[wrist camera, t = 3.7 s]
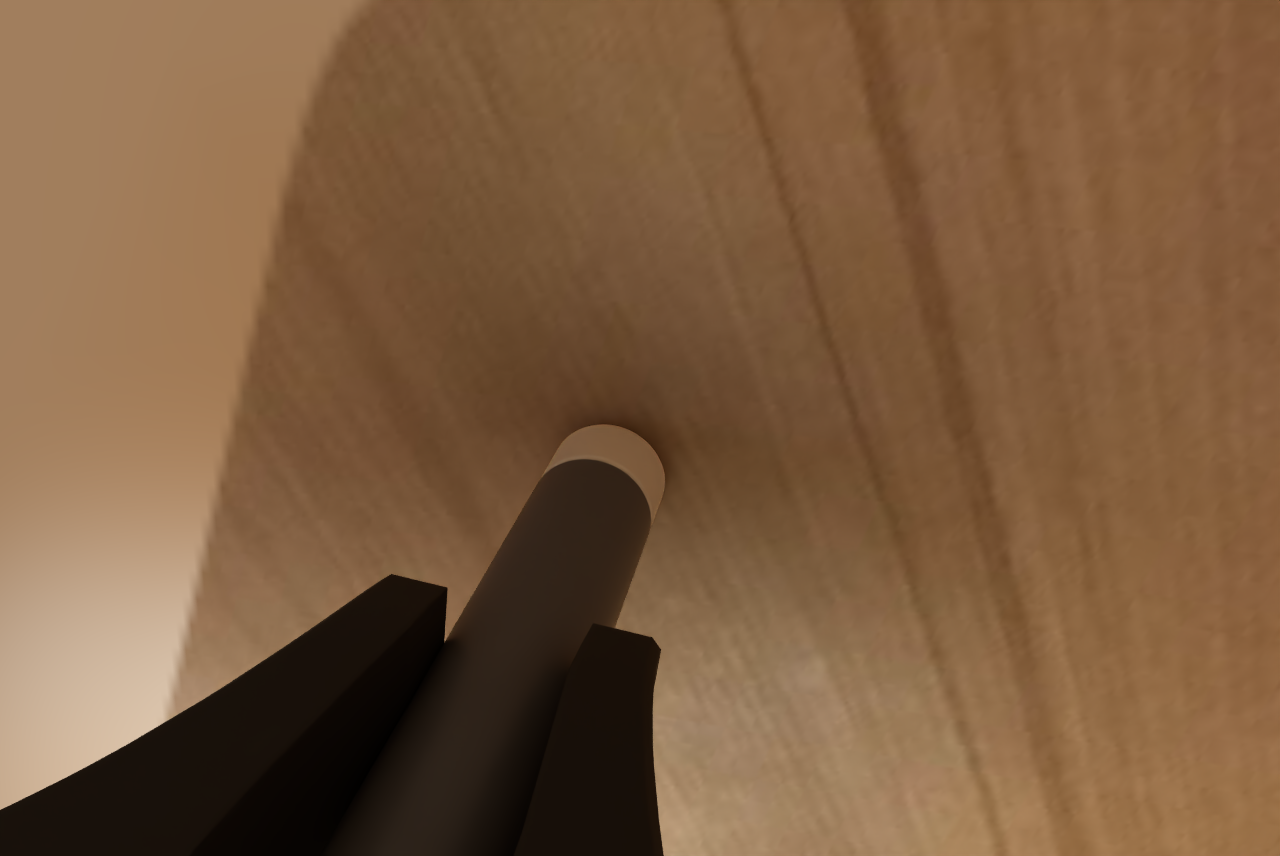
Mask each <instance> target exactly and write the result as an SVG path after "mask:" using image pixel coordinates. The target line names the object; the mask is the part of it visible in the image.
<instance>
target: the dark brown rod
mask: <svg viewBox="0 0 1280 856" xmlns="http://www.w3.org/2000/svg"><path fill="white" fill-rule="evenodd" d="M664 489H665V474H664V469H663V466H662V463H661V461H660V459H659V457H658V455H657V454H656V452H655V451H654V449H653V448H652V447H651V446H650V445H649V443H647V442H646V441H645V440H644V439H643V438H642V437H640V436H639V435H637V434H636V433H634V432H632V431H630V430H628V429H625V428H622V427H619V426H614V425H606V424H600V425H592V426H587V427H584V428H581V429H579V430H577V431H575V432H573V433H572V434H570V435H569V436H568V437H567V438H566V439H565V440H564V441H563V442H562V443H561V445H560V446H559V448H558V449H557V451H556V453H555V455H554V456H553V458H552V460H551V461H550V463H549V465H548V467H547V468H546V470H545V472H544V473H543V475H542V477H541V479H540V480H539V482H538V484H537V485H536V487H535V489H534V490H533V492H532V494H531V496H530V497H529V499H528V501H527V502H526V504H525V506H524V508H523V509H522V511H521V513H520V514H519V516H518V518H517V520H516V521H515V523H514V525H513V526H512V528H511V530H510V531H509V533H508V535H507V537H506V538H505V540H504V542H503V543H502V545H501V547H500V549H499V550H498V552H497V554H496V555H495V557H494V559H493V561H492V562H491V564H490V566H489V567H488V569H487V571H486V573H485V574H484V576H483V578H482V579H481V581H480V583H479V585H478V586H477V588H476V590H475V591H474V593H473V595H472V596H471V598H470V600H469V602H468V603H467V605H466V607H465V608H464V610H463V612H462V614H461V615H460V617H459V619H458V620H457V622H456V624H455V626H454V627H453V629H452V631H451V632H450V634H449V636H448V638H447V639H446V641H445V643H444V644H443V646H442V648H441V650H440V651H439V653H438V655H437V656H436V658H435V660H434V661H433V663H432V665H431V667H430V668H429V670H428V672H427V673H426V675H425V677H424V679H423V680H422V682H421V684H420V685H419V687H418V689H417V691H416V692H415V694H414V696H413V697H412V699H411V701H410V703H409V704H408V706H407V708H406V709H405V711H404V713H403V715H402V716H401V718H400V720H399V721H398V723H397V725H396V726H395V728H394V730H393V732H392V733H391V735H390V737H389V738H388V740H387V742H386V744H385V745H384V747H383V749H382V750H381V752H380V754H379V756H378V757H377V759H376V761H375V762H374V764H373V766H372V768H371V769H370V771H369V773H368V774H367V776H366V778H365V779H364V781H363V783H362V785H361V786H360V788H359V790H358V791H357V793H356V795H355V797H354V798H353V800H352V802H351V803H350V805H349V807H348V809H347V810H346V812H345V814H344V815H343V817H342V819H341V821H340V822H339V824H338V826H337V827H336V829H335V831H334V833H333V834H332V836H331V838H330V839H329V841H328V843H327V844H326V846H325V848H324V850H323V851H322V853H321V855H320V856H514V853H515V850H516V847H517V844H518V842H519V839H520V836H521V833H522V830H523V827H524V823H525V820H526V816H527V813H528V809H529V806H530V802H531V799H532V795H533V792H534V788H535V785H536V781H537V778H538V774H539V771H540V767H541V764H542V760H543V757H544V753H545V750H546V746H547V743H548V739H549V736H550V732H551V729H552V725H553V722H554V719H555V715H556V712H557V708H558V705H559V701H560V698H561V694H562V691H563V687H564V684H565V681H566V677H567V674H568V670H569V668H570V666H571V664H572V662H573V660H574V658H575V656H576V654H577V652H578V650H579V648H580V646H581V644H582V642H583V640H584V638H585V637H586V635H587V633H588V631H589V629H590V628H591V626H592V624H593V623H595V624H599V625H603V626H607V627H611V628H615V625H616V622H617V620H618V617H619V614H620V612H621V609H622V606H623V603H624V601H625V598H626V595H627V592H628V590H629V587H630V584H631V581H632V579H633V576H634V573H635V570H636V568H637V565H638V562H639V559H640V557H641V554H642V551H643V548H644V546H645V543H646V540H647V538H648V535H649V531H650V529H651V527H652V524H653V521H654V518H655V516H656V513H657V510H658V507H659V505H660V502H661V499H662V496H663V493H664Z"/></svg>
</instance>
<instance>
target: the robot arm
mask: <svg viewBox="0 0 1280 856" xmlns="http://www.w3.org/2000/svg"><path fill="white" fill-rule="evenodd" d="M446 604H447V587H443V586H439V585H434V584H430V583H426V582H422V581H418V580H414V579H410V578H406V577H402V576H397V575H393V574H391V575H389V576H387V577H386V578H384V579H382V580H381V581H379V582H378V583H376V584H375V585H373V586H372V587H370V588H369V589H367V590H366V591H364V592H363V593H362V594H360V595H359V596H357V597H356V598H354V599H353V600H352V601H350V602H349V603H347V604H346V605H344V606H343V607H341V608H340V609H339V610H337V611H336V612H334V613H333V614H331V615H330V616H329V617H327V618H326V619H324V620H323V621H321V622H320V623H319V624H317V625H316V626H314V627H313V628H311V629H310V630H308V631H307V632H305V633H304V634H303V635H301V636H300V637H298V638H297V639H295V640H294V641H292V642H291V643H289V644H288V645H286V646H285V647H284V648H282V649H281V650H279V651H277V652H276V653H274V654H273V655H271V656H270V657H268V658H267V659H265V660H264V661H262V662H261V663H259V664H258V665H256V666H255V667H253V668H252V669H250V670H248V671H247V672H245V673H244V674H242V675H241V676H239V677H238V678H236V679H235V680H233V681H232V682H230V683H229V684H227V685H226V686H224V687H222V688H221V689H219V690H218V691H216V692H215V693H213V694H211V695H210V696H208V697H207V698H205V699H203V700H202V701H200V702H198V703H197V704H195V705H193V706H192V707H190V708H188V709H187V710H185V711H183V712H181V713H180V714H178V715H176V716H175V717H173V718H171V719H170V720H168V721H166V722H165V723H163V724H161V725H160V726H158V727H156V728H154V729H153V730H151V731H150V732H148V733H146V734H144V735H143V736H141V737H139V738H138V739H136V740H134V741H133V742H131V743H129V744H127V745H126V746H124V747H122V748H120V749H119V750H117V751H115V752H113V753H111V754H109V755H107V756H106V757H104V758H102V759H100V760H98V761H96V762H95V763H93V764H91V765H89V766H87V767H86V768H83V769H82V770H80V771H78V772H76V773H74V774H72V775H70V776H68V777H67V778H64V779H62V780H60V781H58V782H56V783H54V784H53V785H50V786H48V787H46V788H44V789H42V790H40V791H39V792H36V793H34V794H32V795H30V796H28V797H26V798H24V799H22V800H20V801H18V802H16V803H14V804H12V805H10V806H8V807H5V808H3V809H1V810H0V856H320V855H321V853H322V851H323V850H324V848H325V846H326V844H327V843H328V841H329V839H330V838H331V836H332V834H333V833H334V831H335V829H336V827H337V826H338V824H339V822H340V821H341V819H342V817H343V815H344V814H345V812H346V810H347V809H348V807H349V805H350V803H351V802H352V800H353V798H354V797H355V795H356V793H357V791H358V790H359V788H360V786H361V785H362V783H363V781H364V779H365V778H366V776H367V774H368V773H369V771H370V769H371V768H372V766H373V764H374V762H375V761H376V759H377V757H378V756H379V754H380V752H381V750H382V749H383V747H384V745H385V744H386V742H387V740H388V738H389V737H390V735H391V733H392V732H393V730H394V728H395V726H396V725H397V723H398V721H399V720H400V718H401V716H402V715H403V713H404V711H405V709H406V708H407V706H408V704H409V703H410V701H411V699H412V697H413V696H414V694H415V692H416V691H417V689H418V687H419V685H420V684H421V682H422V680H423V679H424V677H425V675H426V673H427V672H428V670H429V668H430V667H431V665H432V663H433V661H434V660H435V658H436V656H437V655H438V653H439V651H440V650H441V648H442V646H443V644H444V637H445V621H446ZM660 653H661V649H660V647H659V646H658V645H657V643H656V642H655V640H654V639H653V638H652V637H648V636H644V635H640V634H636V633H632V632H628V631H624V630H620V629H615V628H611V627H607V626H603V625H599V624H595V623H593V624H592V626H591V628H590V629H589V631H588V633H587V635H586V637H585V638H584V640H583V642H582V644H581V646H580V648H579V650H578V652H577V654H576V656H575V658H574V660H573V662H572V664H571V666H570V668H569V670H568V674H567V677H566V681H565V684H564V687H563V691H562V694H561V698H560V701H559V705H558V708H557V712H556V715H555V719H554V722H553V725H552V729H551V732H550V736H549V739H548V743H547V746H546V750H545V753H544V757H543V760H542V764H541V767H540V771H539V774H538V778H537V781H536V785H535V788H534V792H533V795H532V799H531V802H530V806H529V809H528V813H527V816H526V820H525V823H524V827H523V830H522V833H521V836H520V839H519V842H518V844H517V847H516V850H515V853H514V856H664V855H663V848H662V840H661V832H660V825H659V816H658V805H657V794H656V783H655V772H654V757H653V692H654V685H655V680H656V674H657V669H658V664H659V658H660Z"/></svg>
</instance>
